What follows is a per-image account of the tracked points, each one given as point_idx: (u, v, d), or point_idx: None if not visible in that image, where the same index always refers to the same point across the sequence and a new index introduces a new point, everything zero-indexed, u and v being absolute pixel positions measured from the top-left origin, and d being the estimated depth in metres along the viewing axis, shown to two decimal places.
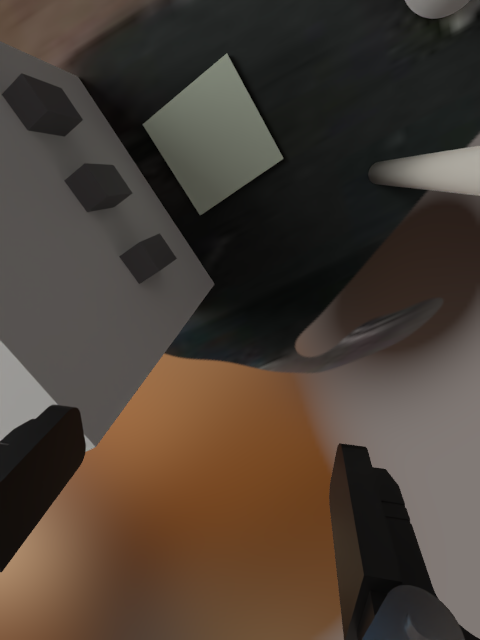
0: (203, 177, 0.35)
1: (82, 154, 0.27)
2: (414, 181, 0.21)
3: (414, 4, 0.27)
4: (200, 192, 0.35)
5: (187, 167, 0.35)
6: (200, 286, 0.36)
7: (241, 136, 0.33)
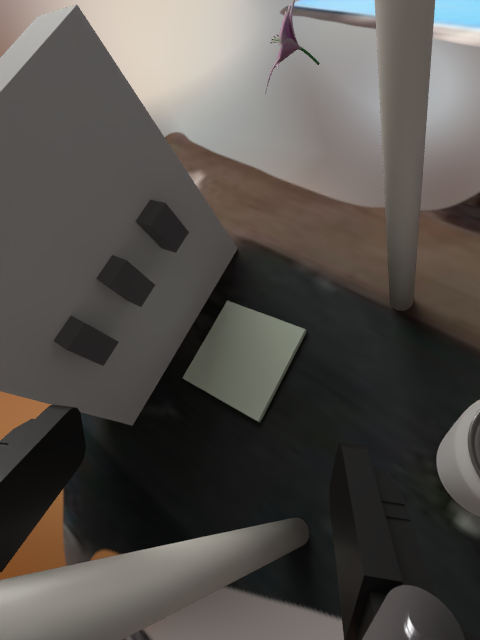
0: (212, 363, 0.37)
1: (157, 264, 0.34)
2: None
3: (437, 460, 0.25)
4: (199, 368, 0.37)
5: (213, 347, 0.38)
6: (112, 408, 0.35)
7: (256, 375, 0.34)
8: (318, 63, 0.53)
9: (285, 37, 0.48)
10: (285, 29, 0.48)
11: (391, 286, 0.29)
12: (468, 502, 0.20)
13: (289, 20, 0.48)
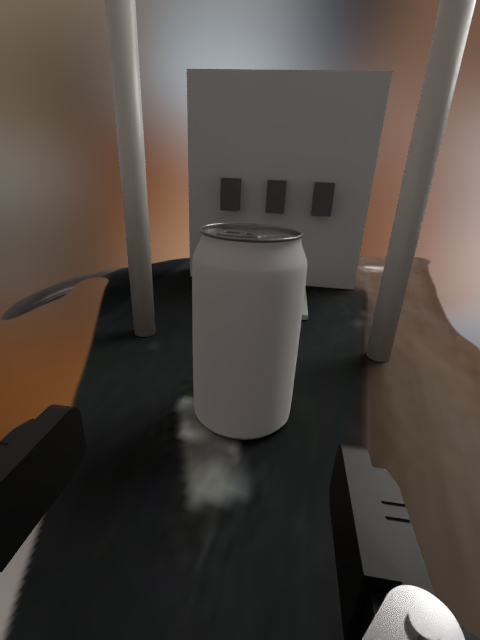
0: None
1: (299, 218, 0.47)
2: None
3: None
4: None
5: None
6: None
7: None
8: None
9: None
10: None
11: (375, 313, 0.30)
12: None
13: None
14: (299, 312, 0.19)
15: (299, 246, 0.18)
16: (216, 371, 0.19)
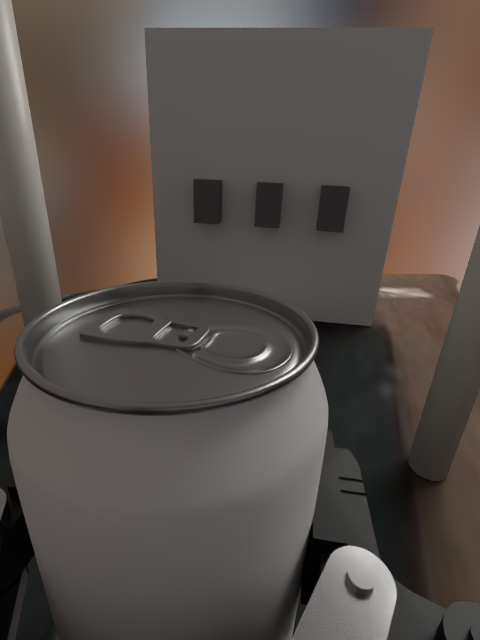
0: None
1: (300, 233, 0.35)
2: None
3: None
4: None
5: None
6: (167, 272, 0.39)
7: None
8: None
9: None
10: None
11: (425, 402, 0.19)
12: None
13: None
14: (307, 537, 0.07)
15: (308, 381, 0.06)
16: None
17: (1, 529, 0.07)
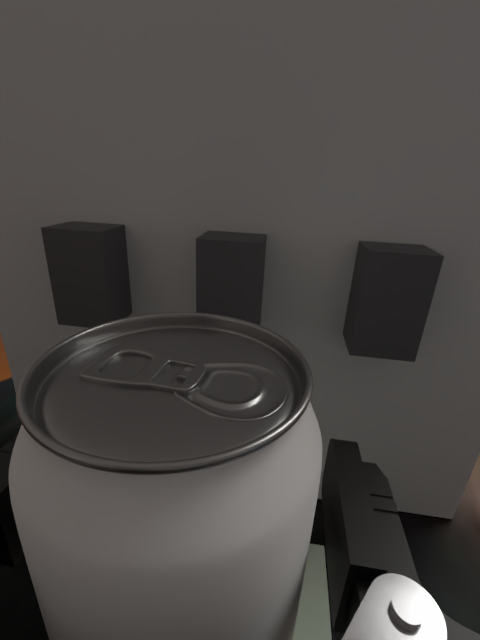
0: None
1: (307, 343, 0.15)
2: None
3: None
4: None
5: None
6: None
7: None
8: None
9: None
10: None
11: None
12: None
13: None
14: (302, 573, 0.07)
15: (302, 426, 0.06)
16: None
17: None
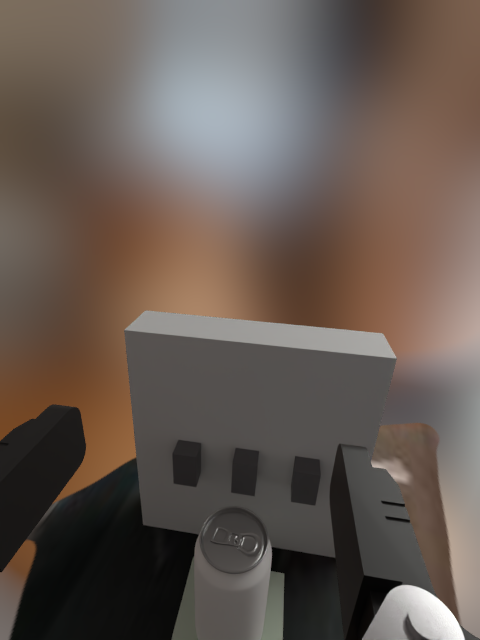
0: None
1: (276, 487, 0.37)
2: None
3: None
4: None
5: None
6: (150, 502, 0.40)
7: None
8: None
9: None
10: None
11: None
12: None
13: None
14: (266, 589, 0.28)
15: (265, 556, 0.27)
16: (210, 629, 0.28)
17: None
